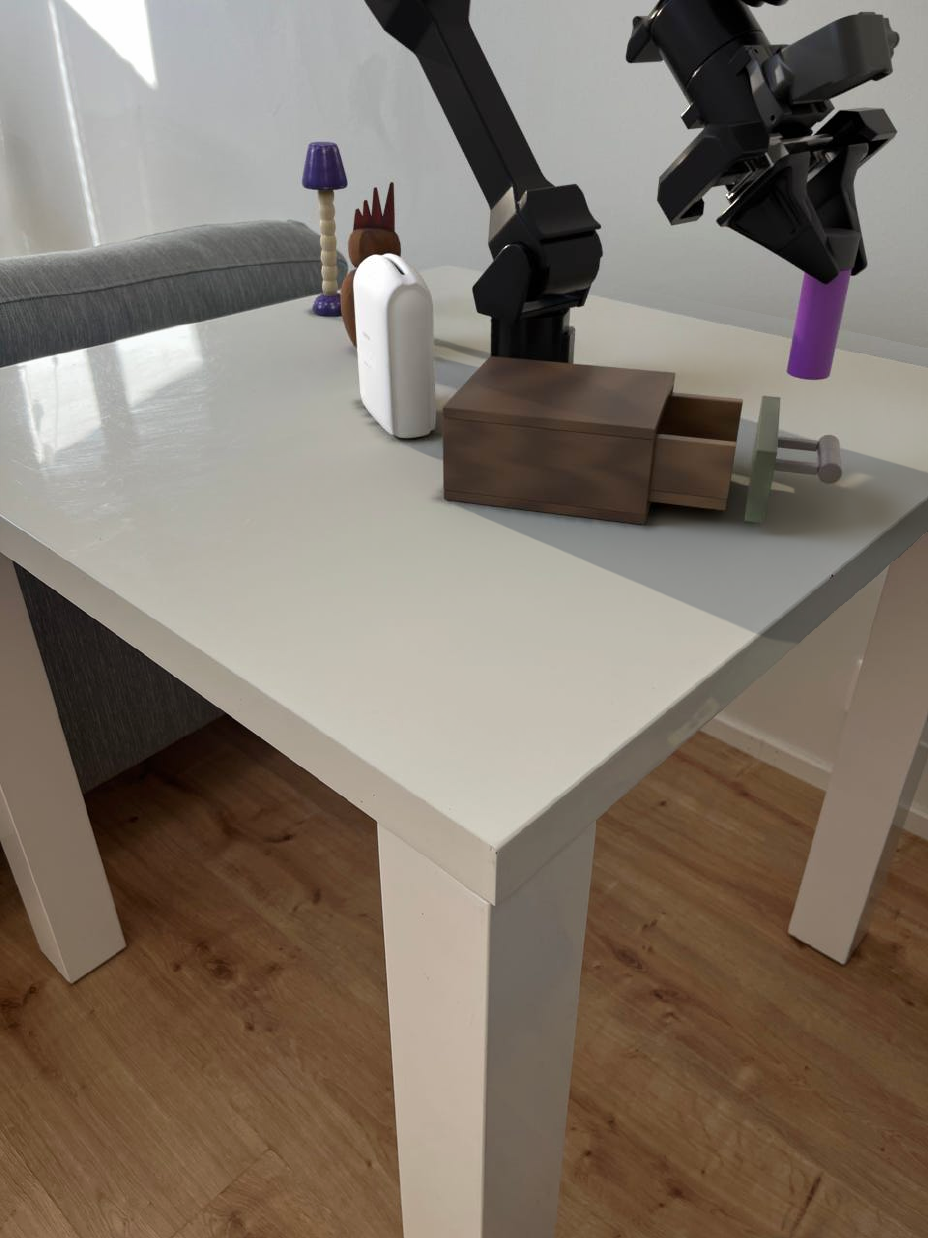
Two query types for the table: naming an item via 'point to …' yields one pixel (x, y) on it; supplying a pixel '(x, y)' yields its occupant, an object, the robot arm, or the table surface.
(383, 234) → the wooden figurine
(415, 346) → the photo printer
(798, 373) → the glue stick
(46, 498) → the table surface
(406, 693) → the table surface
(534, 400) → the cabinet
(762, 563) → the table surface
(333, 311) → the toy lamp
